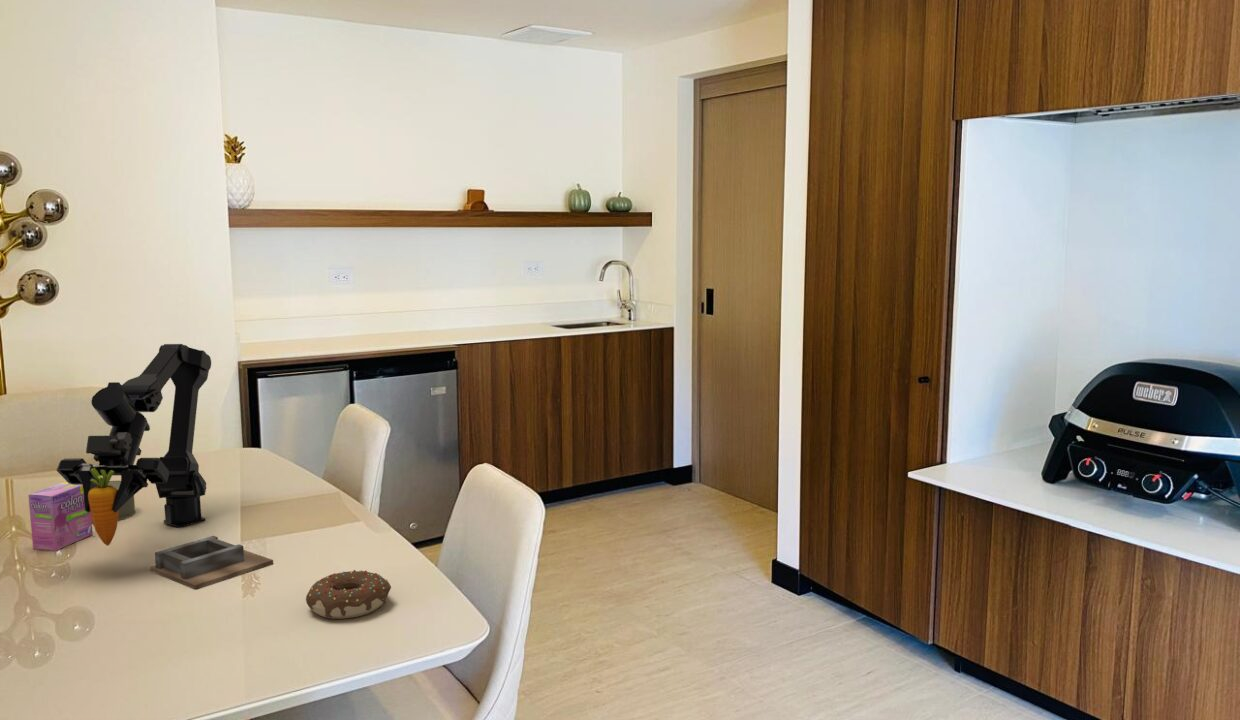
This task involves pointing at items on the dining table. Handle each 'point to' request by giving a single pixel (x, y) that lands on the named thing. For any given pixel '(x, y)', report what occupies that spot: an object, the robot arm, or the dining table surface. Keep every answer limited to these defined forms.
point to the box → (58, 516)
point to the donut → (348, 594)
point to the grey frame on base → (206, 562)
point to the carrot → (103, 506)
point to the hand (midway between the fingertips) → (100, 511)
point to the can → (128, 507)
